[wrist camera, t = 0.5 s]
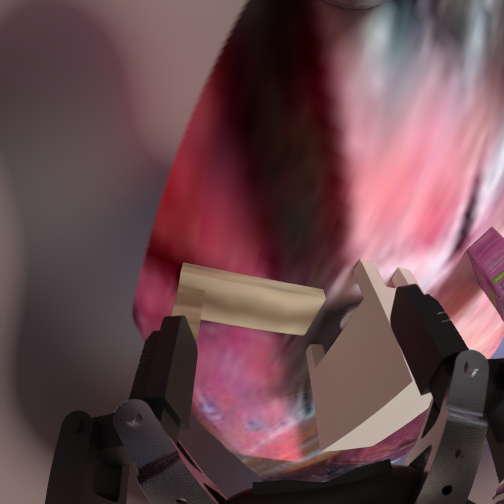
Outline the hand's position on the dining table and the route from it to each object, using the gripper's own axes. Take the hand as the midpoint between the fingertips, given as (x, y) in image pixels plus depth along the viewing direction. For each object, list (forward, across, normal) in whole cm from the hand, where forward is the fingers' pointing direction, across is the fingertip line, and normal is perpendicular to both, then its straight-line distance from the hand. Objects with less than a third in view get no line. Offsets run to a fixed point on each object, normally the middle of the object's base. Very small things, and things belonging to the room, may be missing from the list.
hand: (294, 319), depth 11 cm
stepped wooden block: (+20, +4, +16) cm, 26 cm away
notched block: (+20, -10, +21) cm, 31 cm away
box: (+20, -32, +15) cm, 41 cm away
